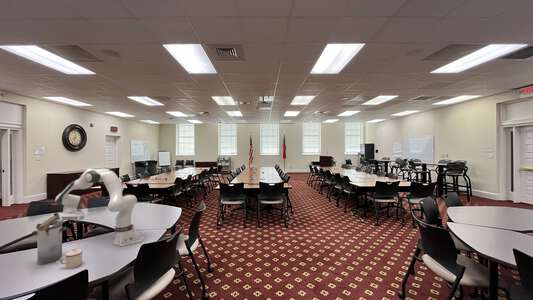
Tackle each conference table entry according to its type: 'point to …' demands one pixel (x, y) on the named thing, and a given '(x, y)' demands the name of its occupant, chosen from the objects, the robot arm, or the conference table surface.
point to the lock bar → (48, 222)
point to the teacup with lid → (73, 258)
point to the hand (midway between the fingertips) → (69, 220)
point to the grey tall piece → (49, 243)
